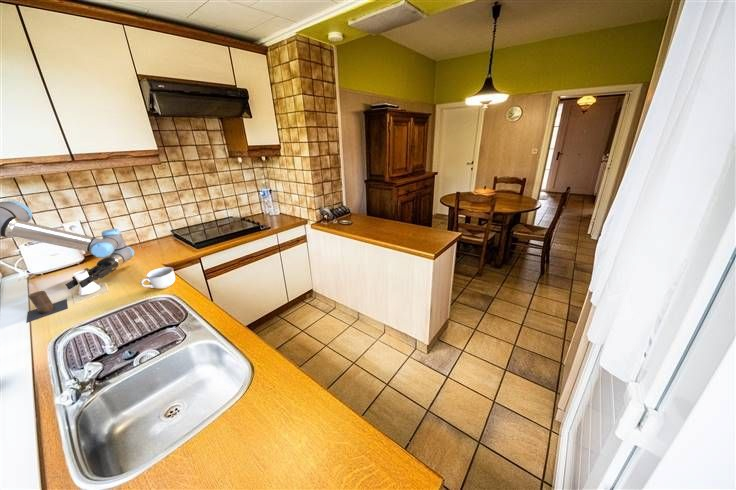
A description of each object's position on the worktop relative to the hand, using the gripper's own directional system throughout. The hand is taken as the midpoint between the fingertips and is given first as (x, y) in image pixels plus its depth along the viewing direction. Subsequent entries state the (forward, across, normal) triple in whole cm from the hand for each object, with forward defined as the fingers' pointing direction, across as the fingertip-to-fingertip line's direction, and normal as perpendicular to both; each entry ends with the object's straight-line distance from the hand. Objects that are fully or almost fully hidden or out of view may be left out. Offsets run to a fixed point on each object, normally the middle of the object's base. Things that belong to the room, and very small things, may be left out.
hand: (74, 285), depth 121 cm
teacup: (-2, -33, -8) cm, 34 cm away
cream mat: (-5, 0, -8) cm, 9 cm away
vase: (-5, 0, -6) cm, 8 cm away
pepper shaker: (+8, +7, -7) cm, 13 cm away
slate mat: (+7, +8, -7) cm, 13 cm away
